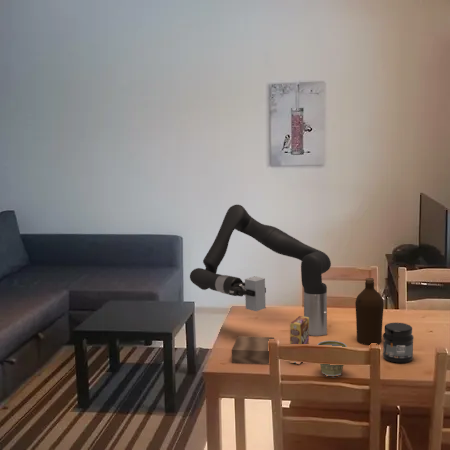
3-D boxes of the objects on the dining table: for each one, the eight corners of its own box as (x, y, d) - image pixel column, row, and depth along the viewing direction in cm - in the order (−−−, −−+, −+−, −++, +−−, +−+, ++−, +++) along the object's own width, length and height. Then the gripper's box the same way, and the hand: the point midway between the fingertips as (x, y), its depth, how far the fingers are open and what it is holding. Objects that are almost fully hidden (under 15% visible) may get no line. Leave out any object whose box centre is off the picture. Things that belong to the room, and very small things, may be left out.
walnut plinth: (274, 350, 232) (274, 337, 231) (270, 364, 218) (270, 351, 217) (237, 348, 234) (237, 336, 233) (232, 362, 220) (231, 349, 220)
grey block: (255, 305, 243) (254, 276, 241) (265, 308, 239) (264, 278, 237) (245, 308, 239) (244, 279, 237) (256, 311, 236) (255, 281, 234)
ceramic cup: (314, 377, 206) (314, 349, 204) (320, 366, 215) (320, 339, 213) (353, 382, 201) (353, 353, 200) (357, 370, 211) (357, 343, 209)
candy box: (300, 365, 216) (300, 324, 214) (289, 363, 218) (288, 322, 216) (309, 356, 224) (309, 317, 221) (298, 355, 226) (298, 315, 223)
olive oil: (377, 347, 231) (378, 283, 227) (351, 342, 237) (351, 280, 232) (386, 338, 240) (387, 277, 235) (360, 334, 245) (361, 274, 241)
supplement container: (396, 350, 227) (397, 320, 225) (419, 359, 218) (420, 327, 216) (376, 357, 222) (376, 325, 220) (399, 366, 213) (399, 333, 211)
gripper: (216, 279, 243) (247, 286, 231) (240, 272, 253) (272, 279, 241) (216, 298, 244) (247, 305, 232) (241, 290, 254) (272, 297, 242)
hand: (260, 292), depth 236 cm, fingers closed on grey block, 5 cm apart
